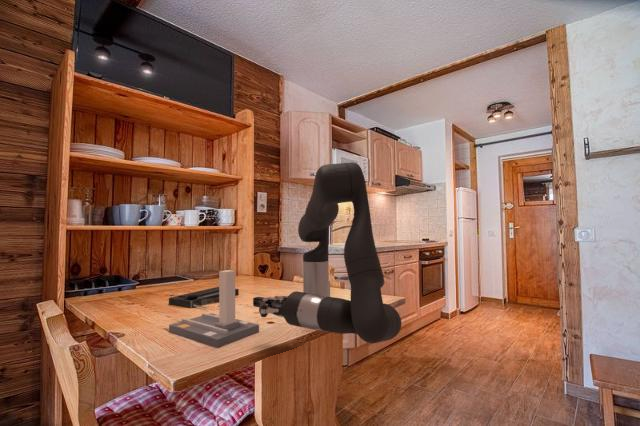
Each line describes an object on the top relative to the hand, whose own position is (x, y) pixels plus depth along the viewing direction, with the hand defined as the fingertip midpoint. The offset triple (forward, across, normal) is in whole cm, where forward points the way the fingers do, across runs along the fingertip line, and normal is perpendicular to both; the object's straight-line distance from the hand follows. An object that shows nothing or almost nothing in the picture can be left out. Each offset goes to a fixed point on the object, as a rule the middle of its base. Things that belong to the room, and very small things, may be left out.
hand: (255, 301), depth 78 cm
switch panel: (+17, 0, +11) cm, 20 cm away
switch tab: (+11, 0, +8) cm, 14 cm away
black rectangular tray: (+52, -24, +11) cm, 58 cm away
